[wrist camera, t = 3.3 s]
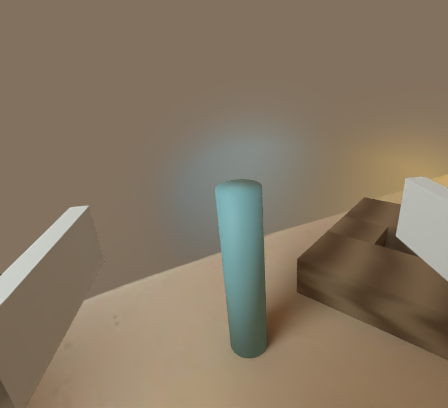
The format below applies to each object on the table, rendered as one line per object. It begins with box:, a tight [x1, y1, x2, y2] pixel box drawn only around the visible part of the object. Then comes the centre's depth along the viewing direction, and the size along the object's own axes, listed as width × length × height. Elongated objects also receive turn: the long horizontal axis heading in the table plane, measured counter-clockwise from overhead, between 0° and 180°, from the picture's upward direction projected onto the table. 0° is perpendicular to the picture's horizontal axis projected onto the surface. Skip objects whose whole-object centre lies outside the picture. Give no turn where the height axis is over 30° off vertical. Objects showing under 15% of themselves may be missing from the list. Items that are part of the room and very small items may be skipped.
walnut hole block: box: [297, 198, 448, 359], centre depth 36 cm, size 16×20×4 cm
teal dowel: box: [215, 179, 267, 358], centre depth 26 cm, size 4×4×16 cm
